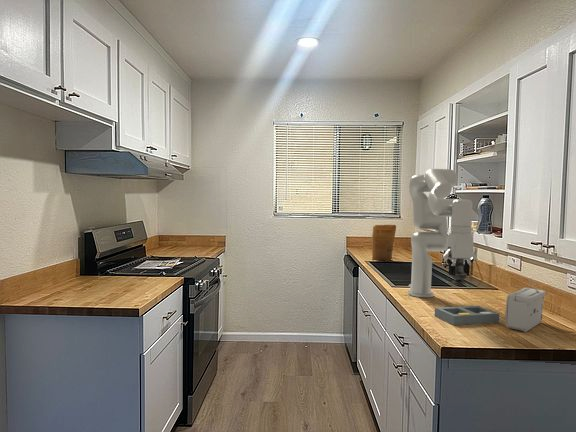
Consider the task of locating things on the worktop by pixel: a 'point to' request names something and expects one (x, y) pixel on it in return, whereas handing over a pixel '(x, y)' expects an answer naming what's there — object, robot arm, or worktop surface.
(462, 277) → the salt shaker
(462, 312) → the socket board
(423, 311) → the worktop surface
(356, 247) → the worktop surface
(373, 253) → the pancake mix bag
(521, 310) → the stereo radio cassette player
